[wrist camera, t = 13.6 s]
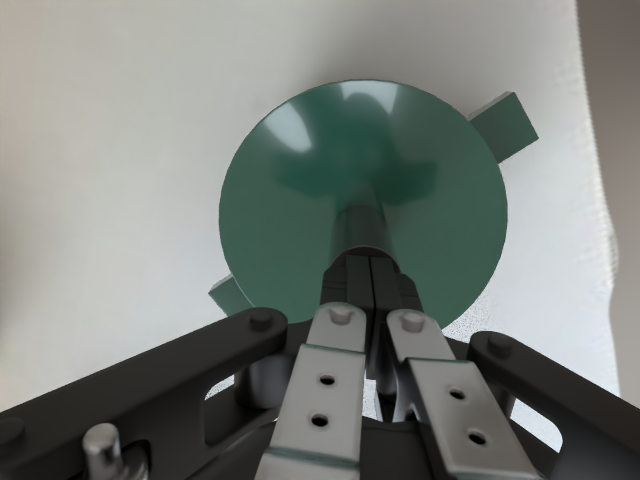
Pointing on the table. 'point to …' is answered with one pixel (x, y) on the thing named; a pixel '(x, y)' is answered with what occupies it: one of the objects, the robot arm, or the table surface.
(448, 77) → the table surface
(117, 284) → the table surface
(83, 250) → the table surface
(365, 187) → the lid
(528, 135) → the pot
